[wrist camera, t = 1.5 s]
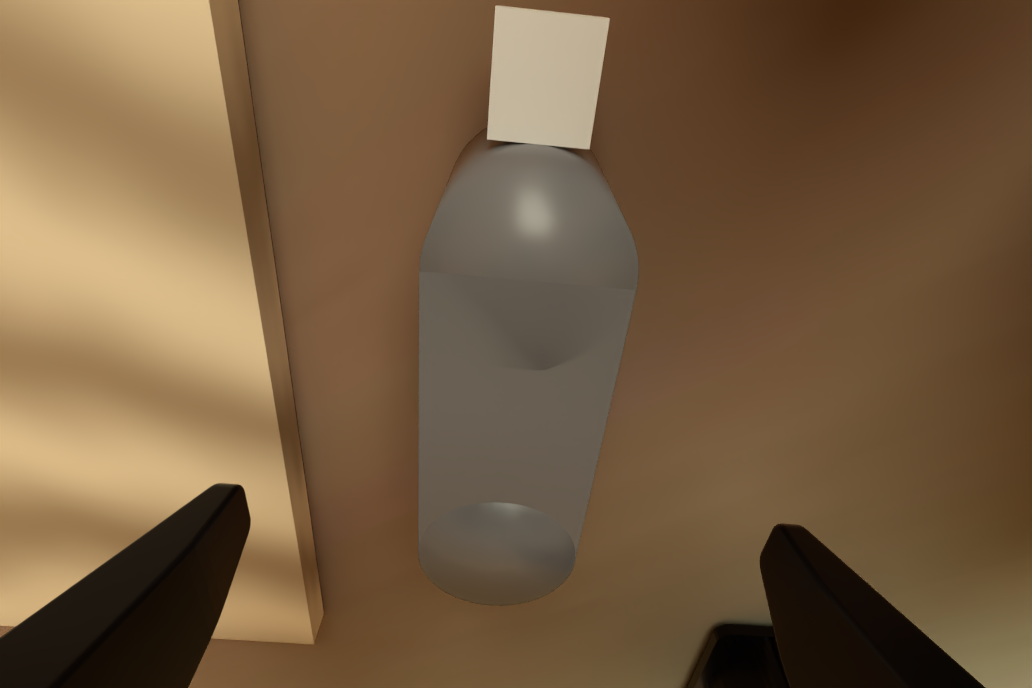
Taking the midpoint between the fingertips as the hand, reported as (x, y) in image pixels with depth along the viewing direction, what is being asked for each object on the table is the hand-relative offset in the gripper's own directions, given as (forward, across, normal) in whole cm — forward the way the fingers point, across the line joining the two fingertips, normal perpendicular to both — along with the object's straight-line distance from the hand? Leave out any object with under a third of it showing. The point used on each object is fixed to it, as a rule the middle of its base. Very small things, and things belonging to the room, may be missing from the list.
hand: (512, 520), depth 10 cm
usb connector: (+6, 0, 0) cm, 6 cm away
